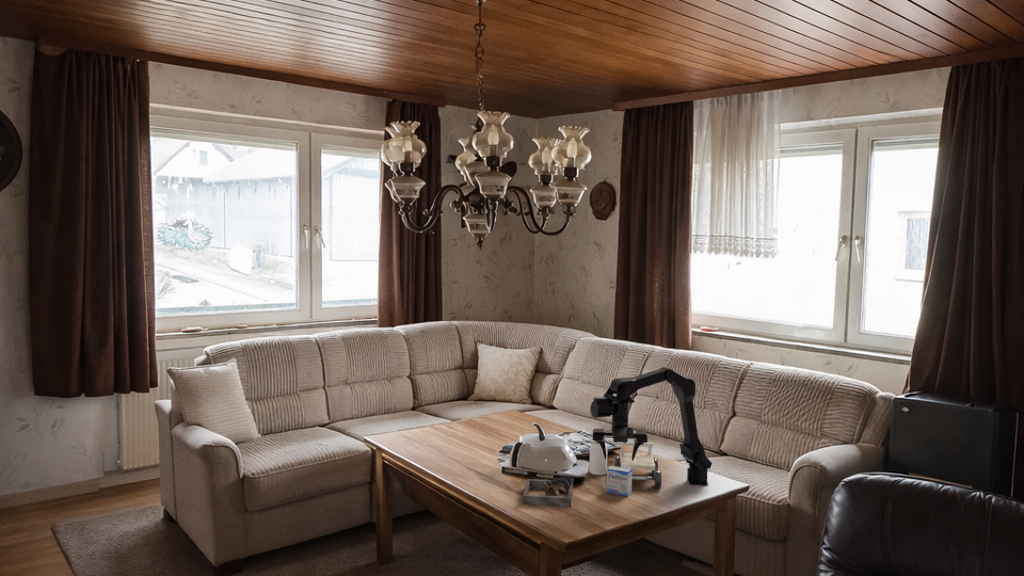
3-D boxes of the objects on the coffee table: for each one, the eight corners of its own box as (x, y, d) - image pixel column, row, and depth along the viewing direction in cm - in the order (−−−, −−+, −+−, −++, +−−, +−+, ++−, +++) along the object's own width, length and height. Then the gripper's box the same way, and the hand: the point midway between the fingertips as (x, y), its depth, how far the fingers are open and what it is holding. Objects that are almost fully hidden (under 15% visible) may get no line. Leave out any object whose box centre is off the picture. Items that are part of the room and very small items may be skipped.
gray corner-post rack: (656, 471, 271) (657, 440, 270) (661, 490, 251) (662, 457, 250) (613, 469, 273) (614, 439, 272) (615, 487, 253) (616, 455, 252)
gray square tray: (572, 489, 250) (572, 481, 250) (571, 507, 235) (571, 498, 234) (527, 487, 252) (527, 479, 252) (522, 504, 236) (522, 495, 236)
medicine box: (606, 493, 248) (606, 468, 247) (610, 488, 252) (610, 464, 251) (628, 496, 244) (628, 472, 244) (631, 492, 248) (632, 468, 248)
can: (607, 471, 270) (608, 440, 270) (605, 476, 264) (606, 445, 263) (591, 469, 272) (591, 438, 271) (588, 474, 266) (588, 443, 265)
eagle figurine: (552, 497, 240) (575, 489, 243) (544, 477, 242) (567, 469, 246) (545, 502, 246) (568, 494, 250) (538, 482, 249) (560, 474, 252)
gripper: (592, 420, 239) (591, 466, 240) (649, 422, 237) (648, 468, 238) (593, 412, 250) (592, 455, 251) (646, 414, 248) (645, 458, 249)
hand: (619, 459), depth 247 cm, fingers open, 9 cm apart
